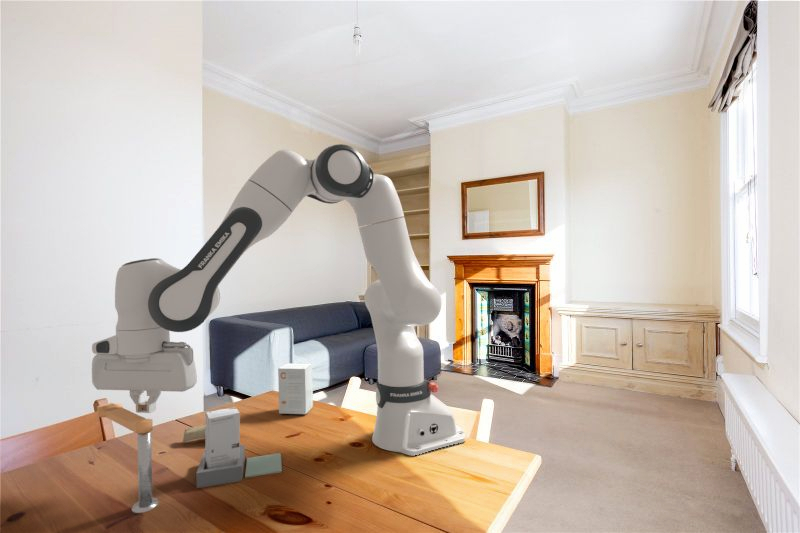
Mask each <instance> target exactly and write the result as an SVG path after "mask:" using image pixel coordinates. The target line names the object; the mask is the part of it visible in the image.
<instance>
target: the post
mask: <svg viewBox="0 0 800 533" xmlns="http://www.w3.org/2000/svg"><path fill="white" fill-rule="evenodd" d="M152 459H153V458H152V430H151V431H150V432H147V433H142V434H138V433H137V471H138V472H137V473H138V474H137V475H138V476H137V477H138V478H137V479H138V484H137V485H138V486H137V487H138V489H137V490H138V501H137V502H135V503H134V504H133V505H132V507H131V512H132V513H135V514H141V513H142V514H143V513H146V512H149V511H152V510H154V509H155V508H156V507H157V506H158V505H159V503H160V500H159V498H157V497H153V471H152V470H153V464H152V463H153V462H152V461H153V460H152Z"/></svg>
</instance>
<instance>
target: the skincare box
mask: <svg viewBox="0 0 800 533" xmlns="http://www.w3.org/2000/svg"><path fill="white" fill-rule="evenodd" d="M240 419H241V412H240V411H239V410H238V409H237V407H236V406H234V407H229V408H228V407H227V408H221V409H217V410H211V411H206V412H205V424H206V425H205V424H204V425H205V438H204V439H205V440H204V441H205V443H204V445H205V449H204V450H205V459H206V469H212V468H218V467H224V466H231V465H237V460H238V458H239V457H240V445H241V444H240V439H241V437H240V433H241V432H240V429H241V428H240V426H241V423H240V422H241V420H240Z"/></svg>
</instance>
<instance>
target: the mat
mask: <svg viewBox="0 0 800 533" xmlns="http://www.w3.org/2000/svg"><path fill="white" fill-rule="evenodd" d="M245 464H246V465H245V474H244V478H245V479H247V478H253V477H258V476H259V477H260V476H265V475H273V474H278V473H283V467H282V453H281V452H278V453H272V454H266V455H258V456H252V457H247V458H246V463H245Z"/></svg>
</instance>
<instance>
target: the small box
mask: <svg viewBox="0 0 800 533" xmlns="http://www.w3.org/2000/svg"><path fill="white" fill-rule="evenodd" d="M277 371H278V375H277V376H278V380H277V381H278V414H285V415H286V414H289V415H307V413H309V412H310V410H311V409H312V408H313V406H314V396H313V395H314V391H313V389H314V387H313V363H301V362H300V363H294V362H293V363H289V362H288V363H285V364H283V365H282V366H280V367H278V368H277Z"/></svg>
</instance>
